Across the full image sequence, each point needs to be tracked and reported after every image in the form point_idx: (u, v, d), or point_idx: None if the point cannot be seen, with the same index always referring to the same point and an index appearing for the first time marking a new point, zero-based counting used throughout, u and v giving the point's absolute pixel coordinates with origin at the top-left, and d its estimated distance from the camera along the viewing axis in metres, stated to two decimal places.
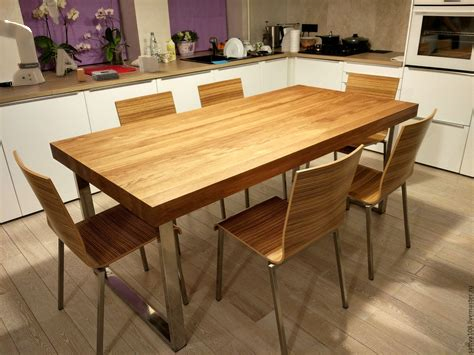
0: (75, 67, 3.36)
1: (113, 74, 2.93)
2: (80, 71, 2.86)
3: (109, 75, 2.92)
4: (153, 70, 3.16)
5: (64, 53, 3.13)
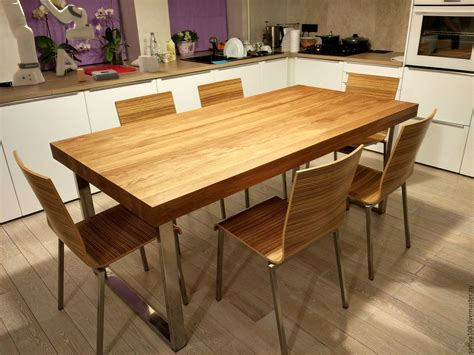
0: (75, 67, 3.36)
1: (113, 74, 2.93)
2: (80, 71, 2.86)
3: (109, 75, 2.92)
4: (153, 70, 3.16)
5: (64, 53, 3.13)
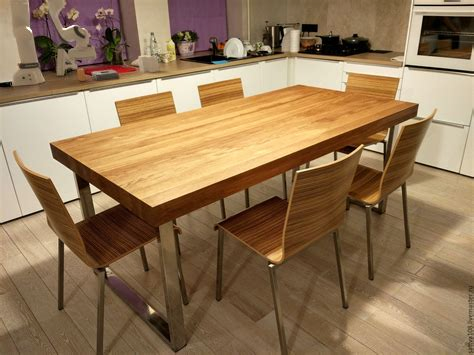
0: (75, 67, 3.36)
1: (113, 74, 2.93)
2: (80, 71, 2.86)
3: (109, 75, 2.92)
4: (153, 70, 3.16)
5: (64, 53, 3.14)
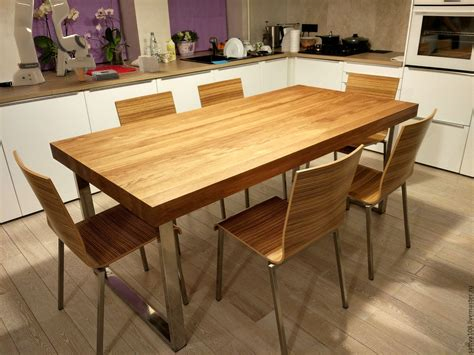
0: None
1: (113, 74, 2.93)
2: (80, 71, 2.86)
3: (109, 75, 2.92)
4: (153, 70, 3.16)
5: (64, 53, 3.14)
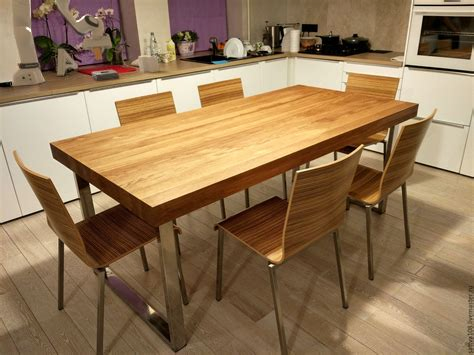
0: (76, 67, 3.37)
1: (113, 74, 2.93)
2: (97, 50, 2.87)
3: (109, 75, 2.92)
4: (153, 70, 3.16)
5: (65, 53, 3.14)
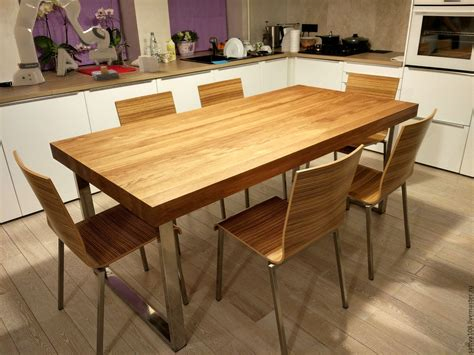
0: (76, 67, 3.38)
1: (113, 74, 2.93)
2: (104, 68, 2.94)
3: (109, 75, 2.92)
4: (153, 70, 3.16)
5: (65, 53, 3.15)
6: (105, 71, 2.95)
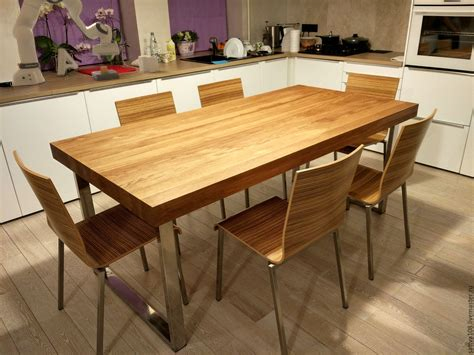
0: (76, 67, 3.38)
1: (113, 74, 2.93)
2: (104, 69, 2.94)
3: (109, 75, 2.92)
4: (153, 70, 3.16)
5: (65, 53, 3.15)
6: (105, 71, 2.95)
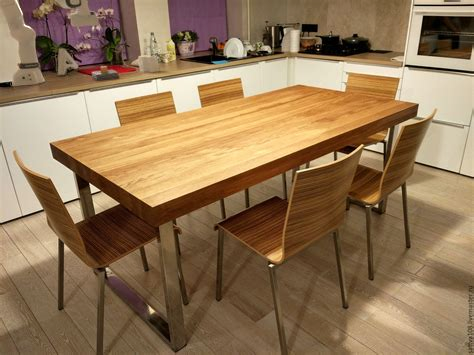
0: (76, 66, 3.38)
1: (113, 74, 2.93)
2: (104, 69, 2.94)
3: (109, 75, 2.92)
4: (153, 70, 3.16)
5: (65, 53, 3.16)
6: (105, 71, 2.95)
